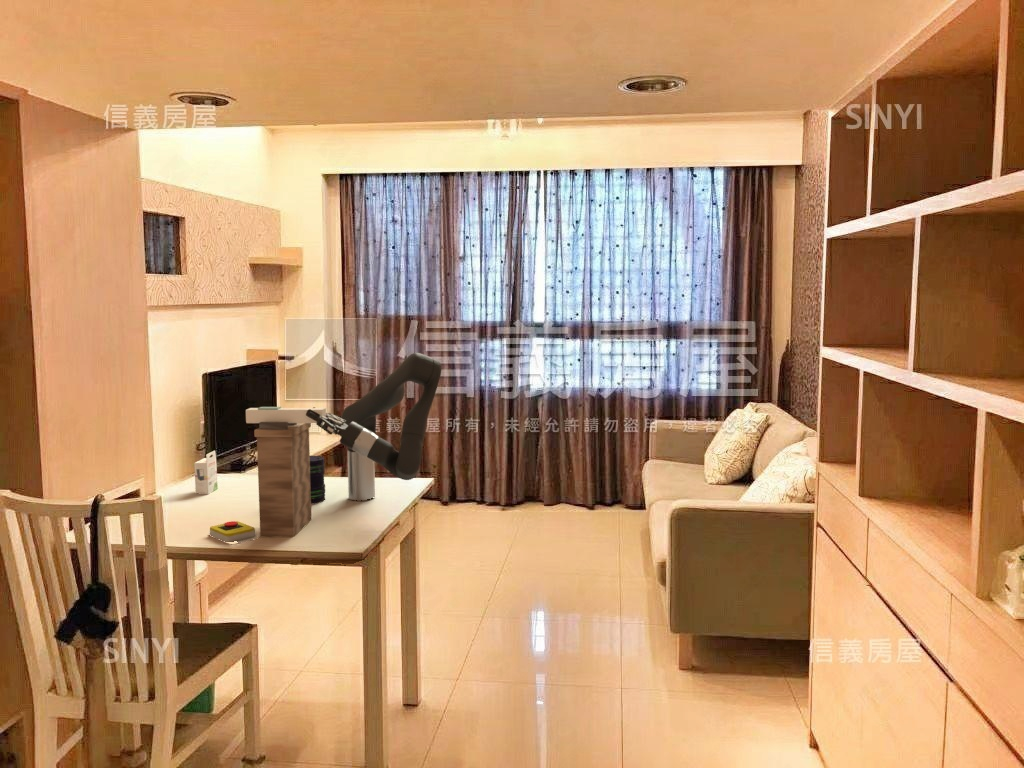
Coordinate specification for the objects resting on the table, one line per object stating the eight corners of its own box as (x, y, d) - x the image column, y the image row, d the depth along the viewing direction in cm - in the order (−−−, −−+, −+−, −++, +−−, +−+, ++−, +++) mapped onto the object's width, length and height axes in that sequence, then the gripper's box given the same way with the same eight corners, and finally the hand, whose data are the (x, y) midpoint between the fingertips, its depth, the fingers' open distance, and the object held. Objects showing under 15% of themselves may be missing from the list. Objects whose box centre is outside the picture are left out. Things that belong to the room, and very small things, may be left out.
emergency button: (234, 515, 242) (260, 525, 232) (235, 529, 242) (260, 539, 232) (205, 522, 235) (230, 531, 225) (206, 536, 235) (230, 546, 225)
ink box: (204, 489, 293) (203, 449, 292) (218, 489, 293) (216, 449, 291) (194, 494, 284) (193, 454, 283) (208, 494, 284) (206, 454, 283)
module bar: (251, 421, 238) (250, 406, 238) (326, 421, 237) (326, 406, 237) (246, 423, 234) (245, 408, 234) (322, 423, 233) (322, 408, 233)
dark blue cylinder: (293, 504, 271) (292, 461, 270) (300, 497, 281) (298, 455, 279) (322, 503, 271) (321, 461, 270) (328, 496, 281) (327, 455, 280)
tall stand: (279, 519, 252) (276, 414, 248) (313, 519, 251) (310, 414, 248) (258, 536, 233) (254, 423, 229) (294, 537, 233) (291, 423, 229)
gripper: (370, 424, 242) (321, 397, 242) (360, 432, 228) (308, 403, 228) (359, 445, 243) (310, 418, 243) (347, 454, 229) (296, 425, 228)
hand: (309, 410), depth 235 cm, fingers closed on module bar, 3 cm apart
